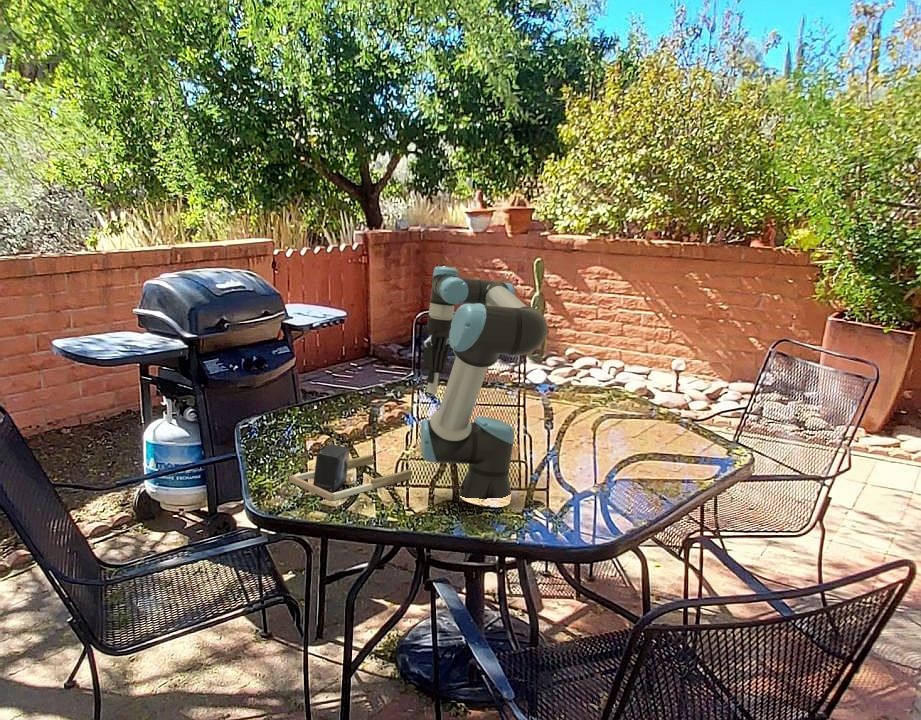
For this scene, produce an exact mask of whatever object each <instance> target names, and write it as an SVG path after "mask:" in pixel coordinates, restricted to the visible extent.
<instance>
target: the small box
mask: <svg viewBox="0 0 921 720" xmlns="http://www.w3.org/2000/svg"><path fill="white" fill-rule="evenodd" d="M350 450H351V449H350V447H347V446H342V445H337V444H333V443H329V444H328V445H327V446H325V447H324V448H322V449H321V450H319V451H318V452H316V456H315V457H316V458H315V467H314V471H315V475H314V477H313V485H315V486H317V487H319V488H321V489H323V490H326V491H328V492H330V493H335V491H337V490H339V489H340V487H341V486H342V485H344V484H345V483H347V478H348V477H347V475H348V469H347V468H348V460H349V459H350V458H349V457H350Z"/></svg>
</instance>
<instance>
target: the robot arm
mask: <svg viewBox="0 0 921 720" xmlns="http://www.w3.org/2000/svg"><path fill="white" fill-rule="evenodd" d="M431 278H432V280H431V281H432V283H431V291H430V298H429V299H430V301H429V309H428V315H429V317H428V318H427V325H426V329H427V330H428V331H429V332H428V334H427V338H426V340H421V345H422V349H423V370H424V371H425V372H428V374H427V388H426V393H429V394H431V395H436V394H437V393H438V391H437V390H438V385H439V378H440V374H443V372H444V371H445V369H446V365H447V361H448V358H449V353H450V350H451V349H452V350H453V354H454V356H455V359H454V362H453V365H452V368H451V371H450V375H449V378H448V381H447V384H446V386H445V387H446V388H445V390H444V393H443V396H442V400H441V403H440V406H439V409H437V410H436V411H434V412H433V413H432V415H431V416H430V419H423V420H422V421H421V425H420V450H421V456H422V459H423V460H424V461H425V462H428V463H435V464H439V463H440V464H458V465H459V464H462V465H463V464H466V465H468V468H467V472H466V474H465V476H464V478H463V480H462V482H461V485H460V486H459V490H458V496H459V495H460V496H462V497H465V498H479V499H487V498H503V497H506V496H508V495H510V494H511V493H512V490H511V482H510V477H509V474H510V466H511V460H512V454H513V446H514V444H515V442H514V438H515V430H514V428H513V427H512V426H511V425H510V424H509V423H508V422H505V421H503V420H500V419H497V418H493V417H488V416H484V415H482V416H481V415H480V416H475V418H474V420H473V422H472V421H471V420H470V418H471V417H472V413H473V411H474V408H475V405H476V403H477V400H478V397H479V394H480V392H481V389H482V385H483V384H484V379H485V377H486V374H487V372H488V370H489V368H490V367H492V366H494V365H495V364H496V363H497V361H498V360H499V357H500V355H504V356H524V355H525V356H526V355H528V354H531V353H532V352H535V351H536V350H538V348H540V347H541V346H542V345H543V343H544V342H545V340H546V338H547V334H548V322H547V320H546V318H545V316H544V315H543V314H542V313H541V312H540V311H539V310H538V309H537V308H535V307H532V306H528V305H526V304H525V303H524V302H522V301H521V300H520V299H519V298H518V297H517V296H516V295H515V294H516V291H515V287H514V285H513V284H512V283H510V282H505V281H501V280H500V281H496V280H495V281H494V280H483V279H475V278H468V277H459V270H458V269H457V268H454V267H449V266H448V267H447V266H436V267H434V269H433V274H432V277H431ZM459 304H460V306H459V307H458V308H457V309H456V311H455V305H459Z"/></svg>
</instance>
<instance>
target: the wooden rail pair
mask: <svg viewBox="0 0 921 720" xmlns="http://www.w3.org/2000/svg"><path fill="white" fill-rule="evenodd" d="M373 463H374V455H373V454H368V455H363V456H359V457H354V458H349V459H348V468H347V470H350V469H354V468H355V469H356V468H359V467H363V466H367V465H372V464H373ZM412 472H413V470H412V469H406V470H402V471H399V472H394V473H391V474H387V475H383V476H379V477H376V478H372V479H371V480H370V483H371V484H373V489H372V490H375V489H378V488H383V487H387V486H390V485H394V484H397V483H400V482H401V483H402V482H405V481H407V480H411V479H412V475H413V473H412Z"/></svg>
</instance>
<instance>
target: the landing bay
mask: <svg viewBox="0 0 921 720" xmlns="http://www.w3.org/2000/svg"><path fill="white" fill-rule="evenodd" d="M314 475H315V470H311V471H307V472H302V473H299V474H294V475H293V474H292V475H289V478H288V482H290V483H292V484H294V485H296V486H298V487H300V488H303V489H304V490H307V491H309V492H311V493H313V494H315V495H318V496H320V497H322V498H323V499H325V500H328V501H330V502H331V501H335V500H339V499H340V500H341V499H342V498H347V497H351V496H354V495H358V494H360V493H364V492H368V491H372V490H374V489H373V484H371V482H369V483H365V484H363V485H362V484H360V485H358V486H354V487H351V488H350V487H349V488H346V489H343V490H338V491H336V492H335V491H334V492H333V493H332V492H328V491H326V490H323V489H321V488H319V487H317V486H315V485H313V484H312V483H310V482H308V481H306V480H308V479H312V478H313V479H314Z"/></svg>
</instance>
